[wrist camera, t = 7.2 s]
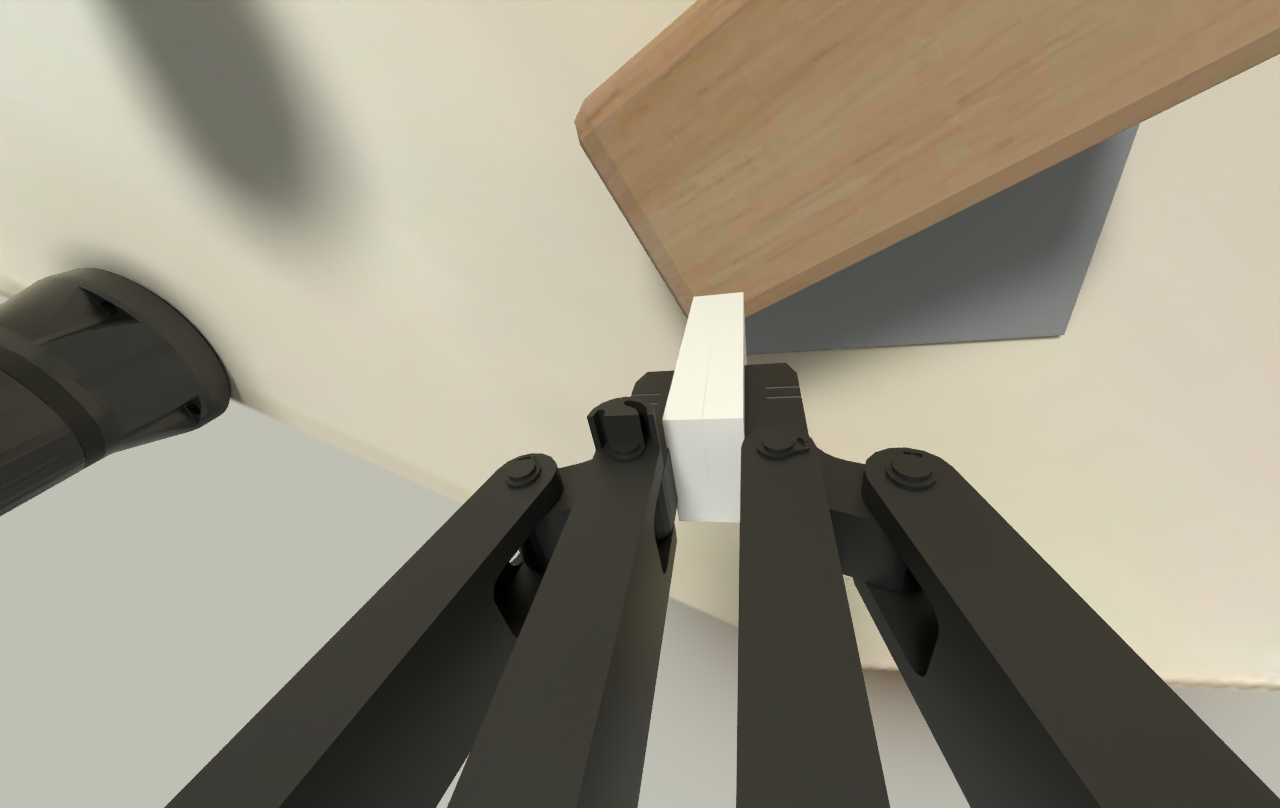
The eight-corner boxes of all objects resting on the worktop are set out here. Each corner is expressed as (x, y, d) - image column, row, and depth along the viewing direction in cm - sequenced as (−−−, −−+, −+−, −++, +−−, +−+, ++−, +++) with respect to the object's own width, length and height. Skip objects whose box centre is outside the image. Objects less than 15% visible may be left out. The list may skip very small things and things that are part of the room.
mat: (708, 355, 31) (708, 356, 30) (680, 66, 22) (680, 65, 22) (1060, 332, 26) (1064, 335, 26) (1195, -50, 17) (1202, -52, 17)
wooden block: (619, 111, 24) (1105, -288, 15) (711, 275, 27) (1142, 35, 19) (554, 118, 15) (1545, -756, 7) (698, 350, 19) (1451, -15, 10)
